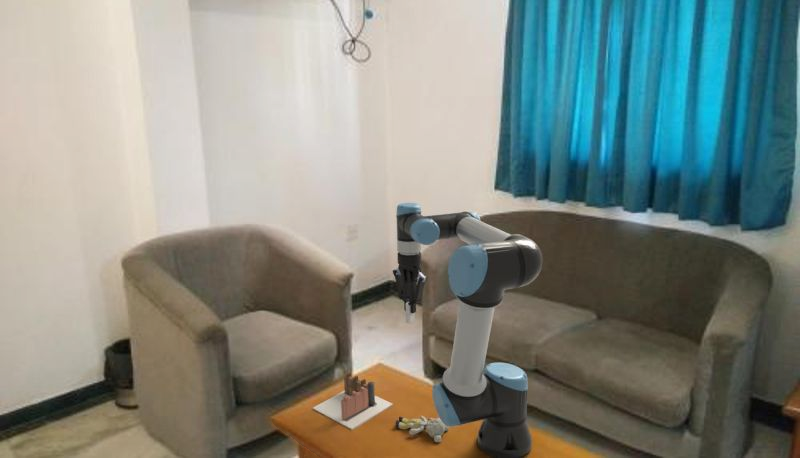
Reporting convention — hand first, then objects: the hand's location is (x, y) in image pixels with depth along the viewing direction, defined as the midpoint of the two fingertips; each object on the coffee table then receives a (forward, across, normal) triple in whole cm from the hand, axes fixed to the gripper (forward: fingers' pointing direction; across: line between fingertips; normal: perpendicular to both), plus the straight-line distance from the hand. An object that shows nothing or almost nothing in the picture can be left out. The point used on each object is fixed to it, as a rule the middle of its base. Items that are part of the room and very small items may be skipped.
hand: (410, 321), depth 192 cm
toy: (+25, -18, +16) cm, 35 cm away
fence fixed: (+24, +8, +16) cm, 30 cm away
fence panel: (+24, +3, +23) cm, 33 cm away
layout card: (+24, +7, +20) cm, 33 cm away
